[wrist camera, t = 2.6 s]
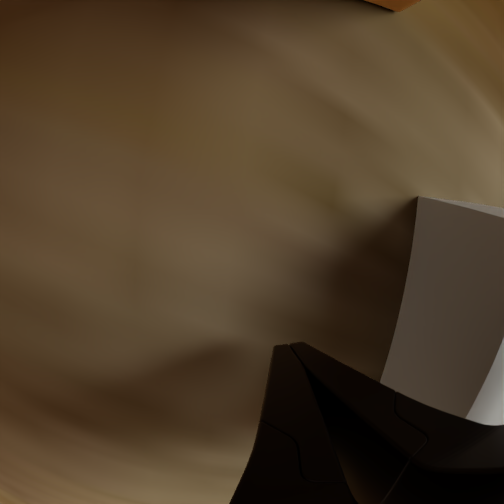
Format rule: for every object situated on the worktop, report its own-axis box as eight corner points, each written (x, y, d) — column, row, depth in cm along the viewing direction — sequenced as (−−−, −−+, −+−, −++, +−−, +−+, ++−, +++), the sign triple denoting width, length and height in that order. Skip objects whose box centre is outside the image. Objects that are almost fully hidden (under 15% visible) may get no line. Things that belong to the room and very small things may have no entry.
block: (485, 350, 13) (540, 395, 8) (376, 384, 12) (435, 464, 7) (520, 210, 11) (595, 235, 6) (414, 195, 9) (532, 226, 5)
